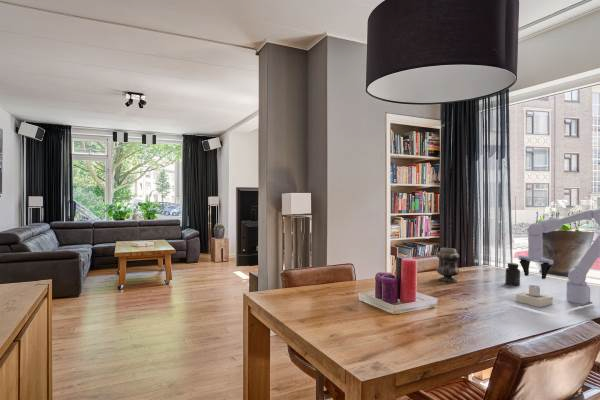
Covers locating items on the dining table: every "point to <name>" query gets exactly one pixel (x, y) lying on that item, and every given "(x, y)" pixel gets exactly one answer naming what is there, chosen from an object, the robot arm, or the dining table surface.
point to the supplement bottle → (512, 275)
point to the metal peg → (534, 291)
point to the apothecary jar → (447, 264)
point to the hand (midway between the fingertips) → (535, 277)
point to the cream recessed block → (533, 299)
